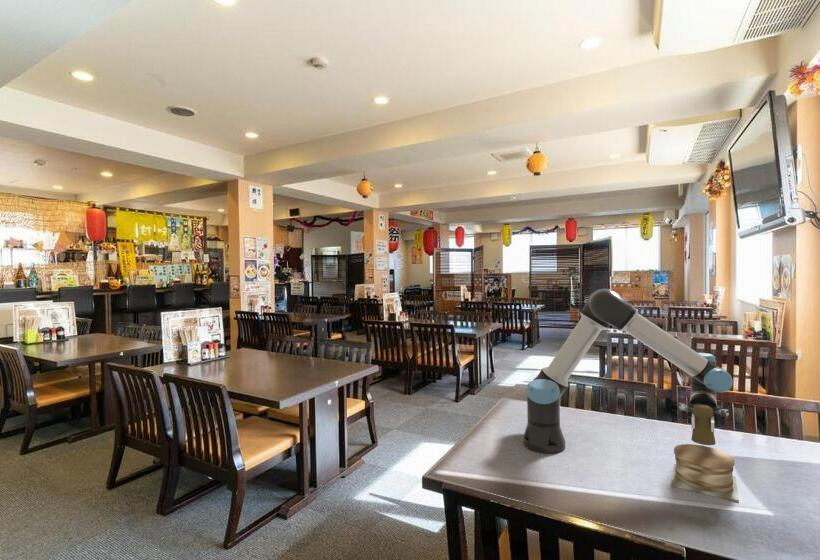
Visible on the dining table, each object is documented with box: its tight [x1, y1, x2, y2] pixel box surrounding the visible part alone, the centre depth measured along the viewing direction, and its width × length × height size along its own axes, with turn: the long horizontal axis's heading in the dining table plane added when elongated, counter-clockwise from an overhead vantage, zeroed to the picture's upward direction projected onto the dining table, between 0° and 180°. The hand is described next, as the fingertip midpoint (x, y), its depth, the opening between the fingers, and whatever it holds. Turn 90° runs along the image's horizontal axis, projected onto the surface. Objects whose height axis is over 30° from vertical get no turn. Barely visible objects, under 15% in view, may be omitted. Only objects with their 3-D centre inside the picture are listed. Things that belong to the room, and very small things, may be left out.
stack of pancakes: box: [670, 443, 740, 503], centre depth 125 cm, size 16×16×9 cm
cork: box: [690, 404, 717, 446], centre depth 125 cm, size 6×6×11 cm
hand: (702, 425), depth 121 cm, fingers closed on cork, 4 cm apart
